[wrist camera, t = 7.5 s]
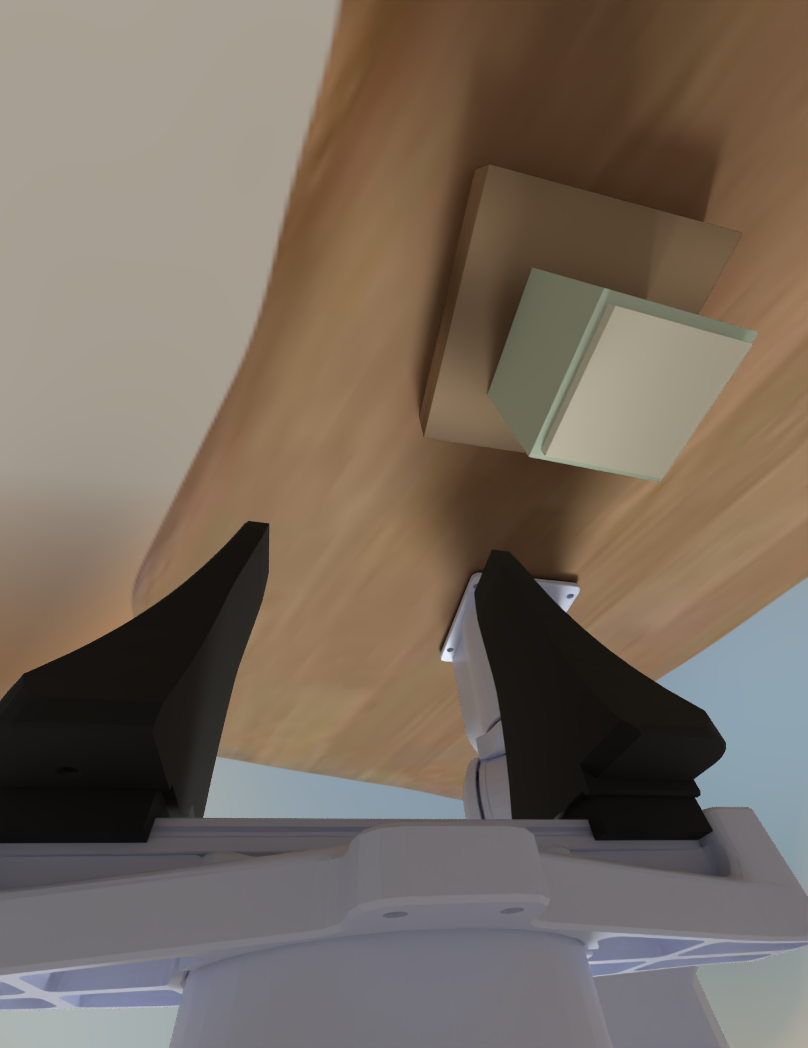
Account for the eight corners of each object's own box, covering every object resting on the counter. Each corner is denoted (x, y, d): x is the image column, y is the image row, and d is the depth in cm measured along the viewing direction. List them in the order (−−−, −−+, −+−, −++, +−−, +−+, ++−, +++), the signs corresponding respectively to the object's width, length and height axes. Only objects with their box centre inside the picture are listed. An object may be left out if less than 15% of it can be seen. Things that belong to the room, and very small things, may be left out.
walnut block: (589, 441, 24) (614, 466, 21) (418, 413, 22) (423, 437, 20) (693, 230, 18) (742, 233, 16) (471, 171, 16) (489, 164, 14)
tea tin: (587, 417, 20) (665, 487, 14) (487, 395, 19) (532, 462, 13) (645, 300, 17) (769, 335, 12) (532, 267, 16) (611, 289, 11)
